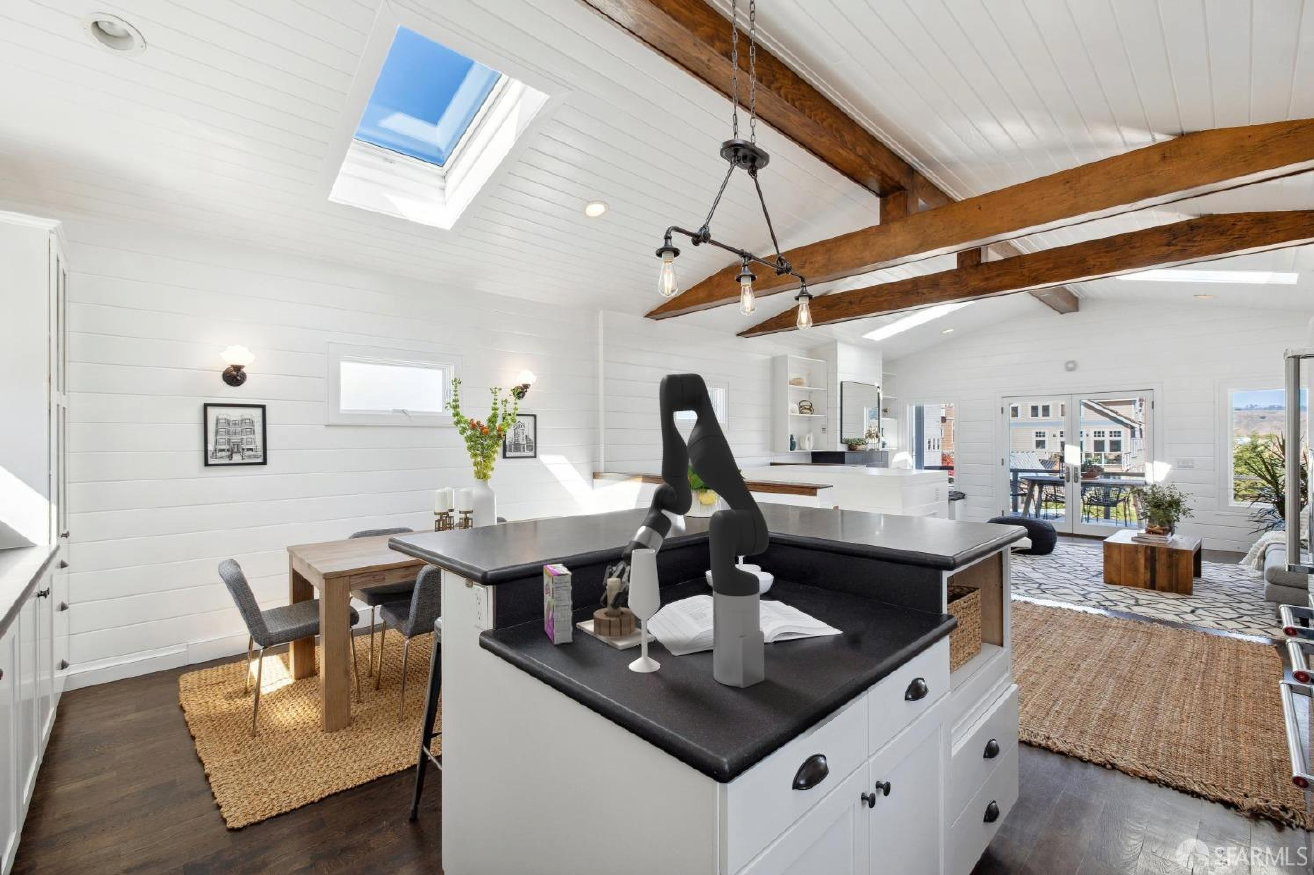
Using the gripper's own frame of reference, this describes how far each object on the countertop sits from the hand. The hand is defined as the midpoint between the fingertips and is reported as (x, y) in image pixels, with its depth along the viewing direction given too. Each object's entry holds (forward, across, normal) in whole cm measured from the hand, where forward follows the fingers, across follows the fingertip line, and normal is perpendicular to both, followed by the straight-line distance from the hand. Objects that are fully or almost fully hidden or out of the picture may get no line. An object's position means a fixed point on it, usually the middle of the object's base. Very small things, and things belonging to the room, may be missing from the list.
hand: (608, 605), depth 141 cm
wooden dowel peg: (+2, 0, +5) cm, 5 cm away
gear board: (+4, 0, +6) cm, 8 cm away
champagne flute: (+11, +20, 0) cm, 22 cm away
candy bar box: (+11, -9, -1) cm, 14 cm away
